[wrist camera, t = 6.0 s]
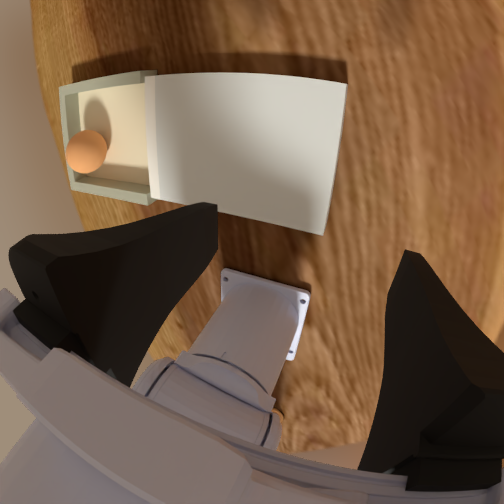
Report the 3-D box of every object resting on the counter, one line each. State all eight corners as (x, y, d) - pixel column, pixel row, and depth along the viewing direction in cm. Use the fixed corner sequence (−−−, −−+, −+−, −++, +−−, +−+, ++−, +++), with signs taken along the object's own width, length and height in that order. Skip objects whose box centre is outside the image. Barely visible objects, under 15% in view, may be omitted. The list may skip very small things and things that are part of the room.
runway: (326, 225, 21) (322, 235, 20) (161, 191, 24) (151, 197, 23) (348, 84, 15) (346, 83, 14) (157, 75, 19) (144, 76, 18)
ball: (91, 187, 23) (57, 174, 22) (111, 164, 26) (79, 152, 25) (94, 149, 20) (57, 137, 19) (117, 129, 23) (83, 118, 22)
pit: (162, 196, 25) (147, 205, 23) (84, 182, 28) (71, 189, 26) (157, 69, 19) (140, 70, 17) (74, 83, 22) (59, 87, 20)
